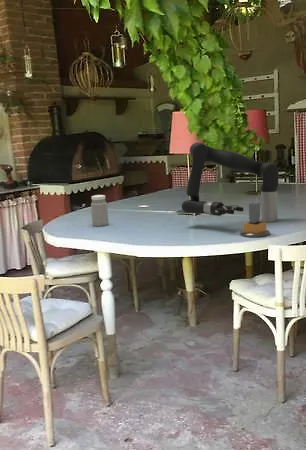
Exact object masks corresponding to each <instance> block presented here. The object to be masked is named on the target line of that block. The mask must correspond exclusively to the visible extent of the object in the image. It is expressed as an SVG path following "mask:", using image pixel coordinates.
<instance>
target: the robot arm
mask: <svg viewBox="0 0 306 450" xmlns="http://www.w3.org/2000/svg"><path fill="white" fill-rule="evenodd" d="M189 153H190V155H191V157H192V164H191V165H192V166H191V171H190V174H189V177H188V181H187V186H186V195H187V196H189V199H187V200H185V201H183V202H182V203H181V210H182V211H183V212H185V213H186V214H188V213H189V214H204V215H208V216H216V217H220V216H223V215H227V214H228V215H234V214H235V212H244V207H243V206H239V205H232V204H229V205H227V204H226V205H224V203H223V202H221V201H212V200H211V201H205V200H200V188H201V182H202V176H203V171H204V166H205V163H206V161H210V162H212V163H215V164H217V165H219V166H222V167H225V168H227V169H230V170H234V171H238V172H244V173H246V172H247V173H251V174H254V175H256V176H258V177H260V178H262V184H261V186H260V219H261V221H262V222H266V223H273V222H278V215H279V213H278V212H279V211H278V187H279V174H280V173H279V168H278V166H277V165H276V164H275V163H271V162H266V161H265V162H263V161H259V160H254V159H252V158H249V157H248V156H246V155H243V154H240V153H237V152H234V151H228V150H225V149H218V148H213V147H211V146H209V145H206V144H204V143H202V142H200V141H199V142H193V143H192V145H190V147H189Z"/></svg>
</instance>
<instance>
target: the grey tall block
mask: <svg viewBox="0 0 306 450" xmlns="http://www.w3.org/2000/svg"><path fill="white" fill-rule="evenodd" d="M248 219H249V221H250V224H259V223H260V222H259V221H260V219H261V202H251V203H248Z"/></svg>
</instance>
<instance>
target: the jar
mask: <svg viewBox="0 0 306 450" xmlns="http://www.w3.org/2000/svg"><path fill="white" fill-rule="evenodd" d="M90 198H91V203H90V208H91V209H90V210H91V211H90V212H91V222H92V225H93V226H94V227H105V226H107V225H108V224H109V213H108V203H107V199H106V195H105V194H95V195H92V196H91V197H90Z"/></svg>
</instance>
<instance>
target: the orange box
mask: <svg viewBox="0 0 306 450" xmlns="http://www.w3.org/2000/svg"><path fill="white" fill-rule="evenodd" d="M259 222H260V223H259V224H250V220H249V221H246V222H243V224H242V225H243V230H241V231H240V236H241V237H244V238H250V239H251V238H253V239H255V238H265V237H269V236H270V235H271V232H270V230H268V229H267V222H264V221H260V220H259Z"/></svg>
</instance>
